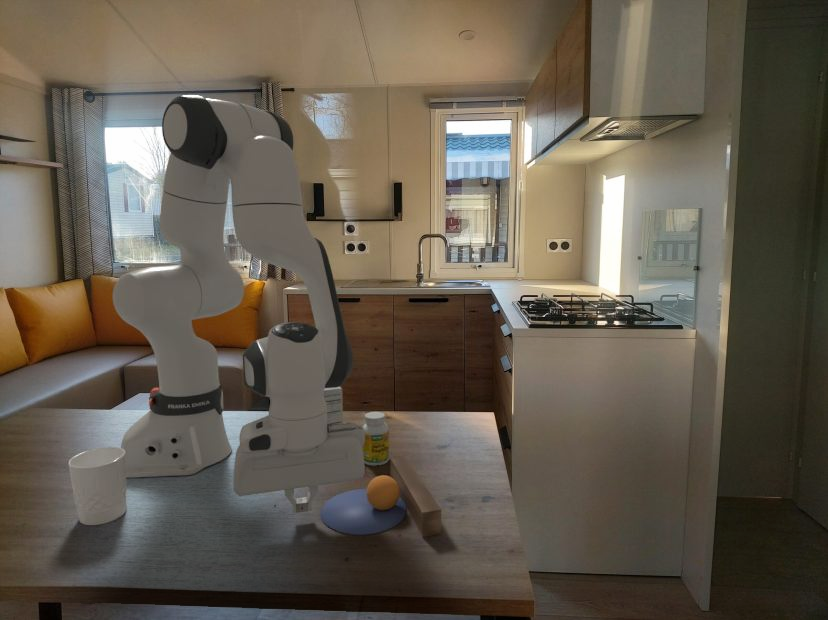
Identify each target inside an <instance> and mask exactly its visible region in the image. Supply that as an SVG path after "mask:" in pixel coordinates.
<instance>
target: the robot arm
mask: <svg viewBox="0 0 828 620" xmlns="http://www.w3.org/2000/svg"><path fill="white" fill-rule="evenodd" d="M161 123H162V124H161V132H162V138H163V141H164V143H165V146H166V147H167V149H168V151H169V153H170V154H169V157H168V161H167V165H166V168H165V174H164V179H163V186H162V187H163V188H162V197H161V205H160V213H159V214H160V215H159V222H158V223H159V224H158V227H159V230H160V233H161V235H162V236H163V238H164V239H165V240H166V241H167V242H168V243H169V244H171V245H172V246H174V247H176V248H177V249H179V251H180V262H179V264H175V265H173V264H172V265H157V266H147V267H144V268H140V269H135V270H132V271H129V272H127V273H123V274H122V275H120V277H119V278H118V279H117V281H116V282H115V284H114V286H113V289H112V303H113V306H114V309H115V311H116V313H117V315H118V316H119V317H120V318H121V320H123V322H126V324H128V325H130V326H132V327H133V328H135V329H136V330H138V331H139V332H140V333H141V334H142V335H143V336H144V337H145V338H146V340H147V341H148V343H149V345H150V346H151V348H152V351H153V354H154V357H155V363H156V367H157V374H158V375H157V376H158V384H159V387H154V388H152V389H151V391H150V392H149V398H148V405H149V409H150V410H149V411H148V412H147V413H146V414H144V415H142V417H141V418H140V419H138V420H137V421H136V422H133V424H132V425H131V426H130V427H128V429H127V430H126V431H125V434H124V435H123V437H122V439H121V444H120V445H121V446H120V448H122V449H124V450H125V457H126V479H129V478H143V477H144V478H148V477H149V478H151V477H173V476H191V475H194V474H196V473H199V472H200V471H202V470H203V469H205V468H207V467H209V466H212V465H215V464H217V463H218V462H221V461H222V460H224V459H226V458H227V457H228V456H229V455H230V454H231V453H232V449H233V448H232V445H231V444H230V441H229V438H228V435H227V431H226V428H225V427H226V426H225V421H224V418H223V417H224V416H223V411H224V393H223V392H224V391H223V387H222V385H221V384H220V376H219V362H218V359H219V358H218V351H217V349H216V348H215V346H214V345H213V344H212V343H210V341H208V340H206V339H203V338H201V337H198V336H197V335H196V333H195V331H194V327H193V322H192V320H197V319H198V320H199V319H204V318H211V317H215V316H216V317H217V316H219V315H222V314H224V313H226V312H229V311H231V310H233V309H235V308H237V307H238V306H240V304H241V302H242V301H243V298H244V294H245V284H244V281H243V278H242V275H241V274H240V273H239V271H238V270H237V269H236V268H235V267H234V266H233V265H232V264H231V263H230V261H229V259H228V257H227V254H226V251H225V250H226V249H225V245H224V232H225V231H224V230H225V222H226V213H227V206H228V198H229V189H230V185H231V210H232V222H233V227H234V231H235V232H234V233H235V237H236V239H237V242H238V243H239V244H240V246H241V247H242V248H243V249H244V250H245V251H246V252H247V253H248V254H250V256H252V257H254V258H255V259H257V260H259V261H261V262H264V263H267V264H269V265H271V266H272V265H273V266H275V267H278V268H281V269H285V270H287V271H290V272H291V273H293V274H295V275H297V276H298V277H299V278H300V279H301V280H302V281H303V283H304V284H305V287H306V290H307V295H308V298H309V303H310V306H311V312H312V315H313V319H314V320H313V321H314V325H315V326H313V325H311V324H309V323H304V322H298V321H290V322H283V323H282V322H281V323H280V324H277V325H275V326H273V327H272V328H271V329H270V330H269V332H268V335H267V336H266V337H262V338H259V339H257V340H253V341H252V342H251V343H250V345H248V347H247V348H246V349H245V351H244V352H243V354H242V367H243V368H242V369H243V381H244V385H245V387H246V388H247V389H249V390H250V391H252V392H253V393H254V394H257V395H259V396H260V397H262V398H263V397H264V398H265V397H268V398H269V400H270V401H269V403H270V404H269V408H268V415H265V416H263V417H260V418H258V419H256V420H253V421H251V422H248V423H246V424H244V425H242V427H241V429H240V433H239V445H238V446H237V448H236V451H235V457H234V465H233V466H234V467H233V475H232V476H233V479H232V480H233V482H232V486H233V487H232V488H233V489H232V490H233V492H234V493H235V494H236V495H237V496H238V497H243V496H244V497H245V496H250V495H252V496H253V495H259V494H265V493H272V492H280V491H284V496H285V498H286V499H287V500H288V502H289V503H290V504H291V508H292V509H291V510H292V514H293V515H294V514H299V513H301V514H302V513H306V512H312V502H313V500H314V499H315V497H316V496H317V493H319V486H323V485H331V484H337V483H338V484H339V483H344V482H345V483H346V482H352V481H360V480H361V479H362V478H363V477H364V475H365V473H366V469H365V465H366V464H365V463H364V457H363V452H362V446H363V445H364V443H365V431H364V429H363V426H362V425H359V424H356V422H346V423H343V424H330V425H328V424H327V404H326V401H325V398H324V388H336V387H339V386H340V387H342V385H343V384H344V383H345V382H346V380H347V379H348V378H349V376H350V375H351V373H352V371H353V370H354V366H355V361H354V353H353V349H352V345H351V342H350V340H349V337H348V335H347V332H346V331H347V330H346V328H345V324H344V320H343V316H342V311H341V307H340V302H339V298H338V293H337V288H336V284H335V283H336V282H335V279H334V276H333V271H332V268H331V267H332V266H331V263H330V259H329V256H328V254H327V253H328V252H327V251H326V248H325V246H324V244H323V242H322V241H321V240H320V239H318V238H316V237H314V235H313V234H312V232H311V231H310V229H309V227H308V225H307V221H306V219H305V215H304V211H303V210H304V209H303V197H302V187H301V181H300V176H299V171H298V166H297V162H296V159H295V154H294V151H293V149H294V134H293V131H292V129H291V126H290V124H289V123H288V122H287V120H286V119H284V118H283V117H282V116H280V115H278V114H276V113H274V112H272V111H270V110H268V109H267V110H266V109H265V110H263V109H260V108H257V107H255V106H252V105H249V104H245V103H242V102H238V101H228V100H223V99H214V98H208V97H207V98H205V97H204V96H201V95H197V94H196V95H195V94H188V95H178V96H176V97H174V98H173V99H172V100H171V101H170V102H169V104H168V105H167V106H166V108H165V110H164V112H163V117H162V122H161ZM230 183H231V184H230ZM301 488H308V492H307V494H306V496H304V497H296V496H295V495H294V494H295V489H301Z"/></svg>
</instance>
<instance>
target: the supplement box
mask: <svg viewBox="0 0 828 620" xmlns="http://www.w3.org/2000/svg"><path fill="white" fill-rule="evenodd" d="M324 398H325V401H326V404H327V424H328V425H330V424H344V415H343V414H344V409H343V408H344V407H343V387H342V386H339V387H336V388H324Z"/></svg>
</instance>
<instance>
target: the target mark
mask: <svg viewBox="0 0 828 620" xmlns="http://www.w3.org/2000/svg"><path fill="white" fill-rule="evenodd" d="M406 514H407V508H406V505H405V503H404V502H403V500H402V499H401V497H399V499H398V501H397V503H396V504H395V505H394V506H393V507H392V508H390V509H388V510H378V509H376V508H374V507H372V506H371V504H370V503H369V501H368V499H367V488H359V489H357V488H356V489H351V490H348V491H344V492H341V493H339V494H336V495H334V496H332V497H331V498H329V499H328V500H327V501H325V503H324V504H323V506H322V508H321V511H320V518H321V520H323V521H322V522H323V524H325V526H326V527H328V526H329V527H330V528H329V527H328V528H329V529H331V528H332V529H331V530H333V529H334V530H333V531H335V530H336V532H338V533H341V534H346V535H354V536H363V535H364V536H366V535H367V536H368V535H374V534H378V533H382V532H385V531H388V530H390V529H392V528H394V527H395V526H397V525H398V524H400V523H401V522H402V521H403V520H404V518H405V516H406Z"/></svg>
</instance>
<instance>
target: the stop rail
mask: <svg viewBox="0 0 828 620" xmlns="http://www.w3.org/2000/svg"><path fill="white" fill-rule="evenodd" d="M389 464H390V465H389V466H390V467H389V468H390V469H389V470H390V472H389V474H390V475H389V477H391V478H393V479H394V480H395V481H396V482H397V484H398V486H399V490H400V495H399V498H401V499H402V500H403V502H404V503H405V505H406V511H407V512H408V513H409V515H410V517H411V518H412V520H413V523H414V524H415V526H416V528H417V530H418V532H419V534H420V535H421V537H422V538H425V537H426V538H427V537H430V536H437V535H442V509H441V507H440V506H439V504H438V502H437V501H436V500H435V498H434V496H433V494H432V493H431V492H430V490H429V489H428V487H427V485H426V484H425V483H424V481H423V480H422V478H421V477H420V475H419V474H418V472H417V471H416V469H415V467H414V465H413V464H412V462H410V460H409V459H408V457H407V455H401V456H399V455H398V456H392V457H390V456H389Z"/></svg>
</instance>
